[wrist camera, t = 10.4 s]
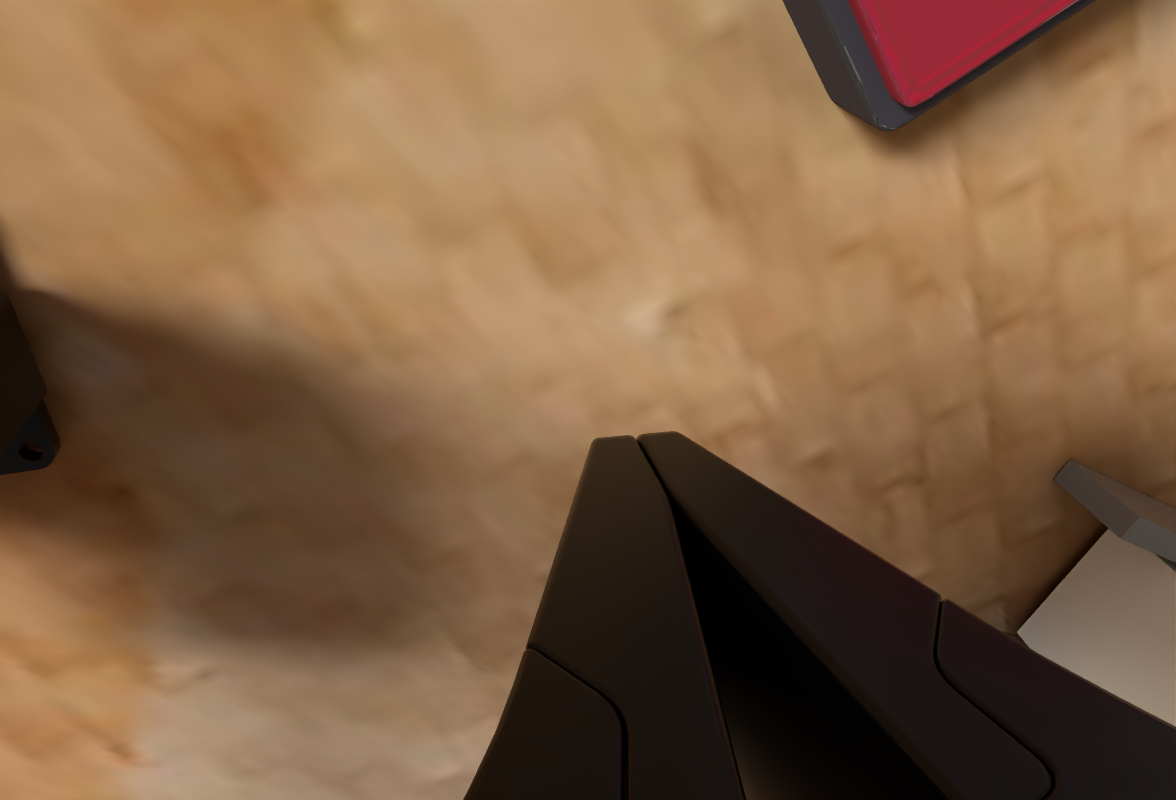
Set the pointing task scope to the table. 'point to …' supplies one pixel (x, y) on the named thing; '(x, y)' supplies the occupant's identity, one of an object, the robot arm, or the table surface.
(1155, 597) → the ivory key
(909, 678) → the robot arm
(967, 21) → the black paneled box
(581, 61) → the table surface
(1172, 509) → the gray two-slot stand
